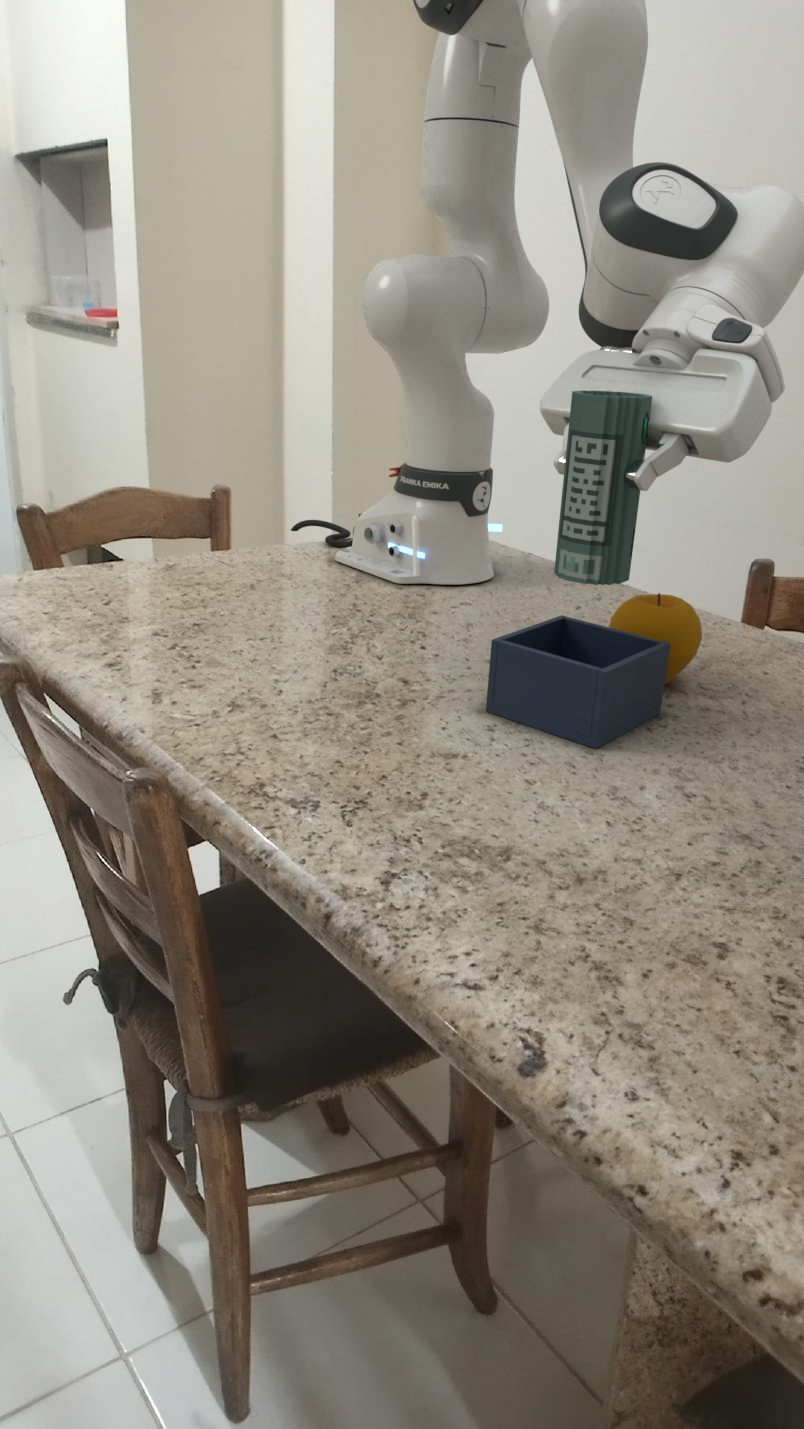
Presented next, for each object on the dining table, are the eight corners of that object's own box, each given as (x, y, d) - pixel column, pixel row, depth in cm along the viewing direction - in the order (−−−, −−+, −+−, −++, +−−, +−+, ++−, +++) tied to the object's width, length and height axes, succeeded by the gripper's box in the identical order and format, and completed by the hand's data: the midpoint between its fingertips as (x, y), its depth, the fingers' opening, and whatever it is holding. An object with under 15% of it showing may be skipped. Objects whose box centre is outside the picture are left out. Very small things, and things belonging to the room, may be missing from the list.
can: (638, 575, 89) (662, 395, 83) (608, 588, 84) (630, 398, 79) (575, 563, 92) (594, 389, 86) (542, 575, 87) (560, 392, 82)
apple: (636, 659, 107) (647, 576, 104) (712, 683, 102) (727, 596, 98) (585, 677, 102) (595, 589, 98) (663, 703, 96) (677, 611, 92)
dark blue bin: (485, 711, 92) (491, 639, 89) (554, 681, 100) (561, 615, 97) (596, 749, 85) (606, 672, 83) (660, 714, 93) (671, 643, 91)
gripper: (579, 319, 92) (492, 435, 90) (783, 330, 77) (686, 469, 75) (605, 371, 96) (523, 483, 94) (803, 391, 82) (712, 524, 80)
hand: (597, 477), depth 84 cm, fingers closed on can, 6 cm apart
